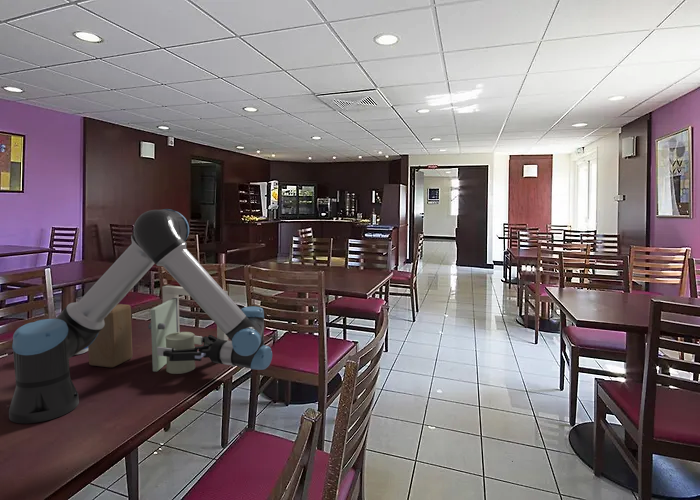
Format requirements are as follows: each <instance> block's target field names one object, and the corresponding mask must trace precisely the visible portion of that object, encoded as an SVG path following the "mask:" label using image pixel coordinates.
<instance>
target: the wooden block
mask: <svg viewBox="0 0 700 500" xmlns="http://www.w3.org/2000/svg"><path fill="white" fill-rule="evenodd" d="M131 308H132V306H131V305H130V304H123V303H118V304H117V305H116V306H115V307H114V309H113V310H112V311H111V312H110V313H109V314H108V315H107V316H106V317H105V318H104V322H105V325H104V327H103V328H102V329H101V330H100V332H99V333H98V335H97V337H96V339H95V340H94V341H93V343H92V344H91V345H89V346H88V351H87V353H88V364H89V365H90V366H95V367H96V366H97V367H105V368H115V367H117V366H119V365H121V364H123V363H125V362H127V361H129V360H131V359H133V337H132V336H133V334H132V332H133V331H132V309H131Z"/></svg>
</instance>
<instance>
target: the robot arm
mask: <svg viewBox="0 0 700 500" xmlns="http://www.w3.org/2000/svg"><path fill="white" fill-rule="evenodd" d="M189 225H190V224H189V222H188V220H187V218H186V217H185V216H184V215H183V214H182V213H180V212H179V211H176V210H173V209H169V208H164V209H150V210H148V211H145V212H143V213H141V215H139V216H138V217H137V219H136V221H135V222H134V225H133V231H132V232H133V234H131V236H130V240H131V243H130V245H129V246H128V247H127V248H126V249H125V251H123V253H122V254H121V255H120V256H119V257H118V258H117V259H115V261H114V263H113V264H112V265H111V266H110V267H109V268H108V269H107V270H106V271H105V272H104V273H103V275H101V277H99V279H98V280H97V281H96V282H95V283H94V284H93V285H92V286H91V288H89V289H88V291H87V292H86V293H84V295H83V296H82V297H81V298H80V299H79V300H78V301H77V302H76V301H75V302H69V304H67V306H65V308H64V309H63V310H62V311H61V312H60V313H59V314H58V315H57V316H56V317H55V318H44V319H38V320H35V321H34V322H33V321H32V322H31V321H30V322H28V323H25V324H24V325H22V326H19V327H18V328H17V329H16V330H15V331H14V333H13V335H12V342H11V343H12V344H11V347H12V352H13V364H14V365H13V366H14V376H15V389H14V392H13V395H12V398H11V402H10V405H9V408H8V419H9V421H11V422H12V423H16V424H21V425H22V424H25V425H26V424H36V423H42V422H47V421H50V420H53V419H56V418H60V417H62V416H64V415H67V414H69V413H70V412H71V411H74V410H75V409H77V407H78V406H79V404H80V397H79V393H78V390H77V388H76V386H75V385H74V383H73V381H72V379H71V378H72V377H71V373H70V359H72V358H73V356H76V355H75V354H77V353H78V352H80V351H81V350H83V349H85V348H86V347H88V346H89V345H91V344H92V343H93V341H94V340H95V339H96V337H97V335H98V333H99V332H100V330H101V329H102V328H103V327H104V325H105V322H104V318H105V317H106V316H107V315H108V314H109V313H110V312H111V311H112V310H113V309H114V307H115V306H116V305H117V304H120V302H121V301H122V300H123V299H124V298H125V297H126V296H127V294H129V292H130V291H131V290H132V289H133V287H135V286H136V285H137V284H138V282H139V281H140V280H141V279H142V278H143V277H144V276H145V275H146V274H147V272H149V270H150V269H151V268H152V267H153V266H154V265H156V266H159V267H163V268H164V269H165V270H166V271H167V272H168V274H170V276H171V277H172V278H173V279H174V280H175V281H176V282H177V283H178V284H179V285H180V287H183V289H184V290H185V291H186V292H187V293H188V294H189V295H190V296H189V297H190V298H191V299H192V300H193V301H194V302H195V303H196V305H198V306H199V307H200V308H201V309H202V310H203V311H204V312H205V313H206V315H207V316H208V317H209V318H210V319H211V320H212V321H213V322H214V324H215V325H216V327H217V326H218V327H219V328H220V329H221V330H222V331H223V332H224V333H225V334H226V335H227V336H228V341H227V340H220V339H218V338H217V337H216V336H214V335H212V334H209V335H208V336H206V335H205V336H202V335H200V336H199V335H195V336H194V345H196V346H194V347H195V348H192V349H182V350H175V349H174V348H165V347H157V355H159V356H165V357H169V361H195V362H201V361H202V358H204V359H206V358H207V359H210V361H211V362H212V363H214V364H219V365H220V364H221V365H225V366H226V365H228V366H231V367H233V368H234V367H241V368H245V369H246V368H247V369H251V370H257V371H260V370H266V369H267V368H268V367H269V366H270V365H271V363H272V360H273V351H272V348H271V347H270V346H268V345H265V313H264V308H263V307H260V306H255V305H253V306H252V305H250V306H245V307H242V308H240V307H239V305H237V304H236V303H235V301H234V300H233V299H232V298H231V297H230V295H227V294H226V293H225V291H226V290H224V289H223V288H222V287H221V286H220V284H219V283H217V281H216V280H215V279H214V277H212V276H211V274H209V272H208V271H207V270H206V269H205V268H204V267H203V265H202V264H201V263H200V262H199V261H198V260H197V259H196V258H195V256H193V254H192V253H191V252H190V251H189V250H188V249H187V242H186V241H187V240H188V238H189V236H190V235H189V234H190V226H189ZM197 345H198V346H197Z"/></svg>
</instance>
